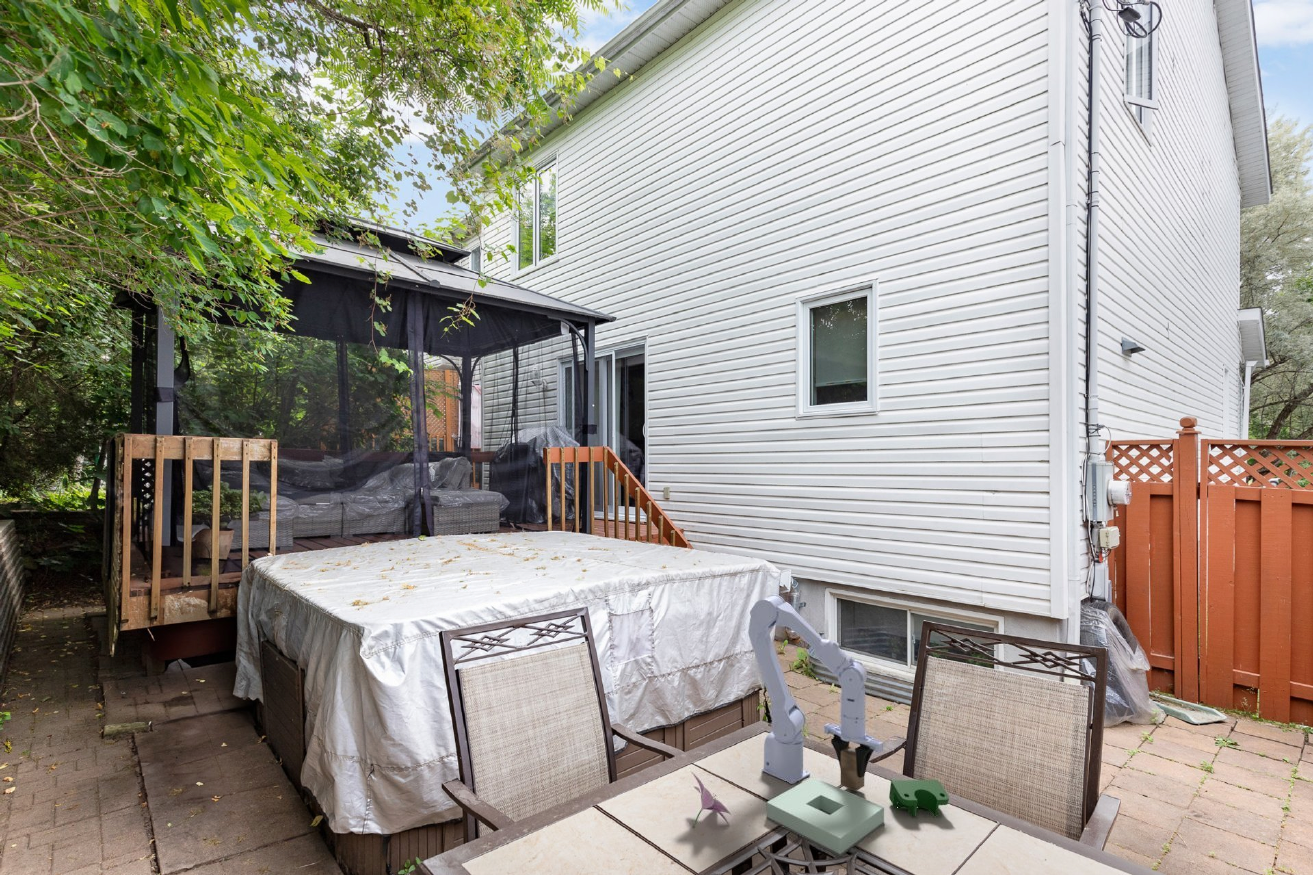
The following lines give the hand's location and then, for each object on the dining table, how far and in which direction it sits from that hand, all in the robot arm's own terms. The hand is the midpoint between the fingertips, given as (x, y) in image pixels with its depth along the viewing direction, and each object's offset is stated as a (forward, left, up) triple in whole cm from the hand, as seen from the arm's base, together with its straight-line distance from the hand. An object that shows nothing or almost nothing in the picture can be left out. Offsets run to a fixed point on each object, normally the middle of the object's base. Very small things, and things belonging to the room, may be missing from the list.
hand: (852, 772), depth 149 cm
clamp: (+15, +3, -5) cm, 16 cm away
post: (0, 0, -3) cm, 3 cm away
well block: (+3, -17, -4) cm, 18 cm away
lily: (-13, -37, -5) cm, 39 cm away
